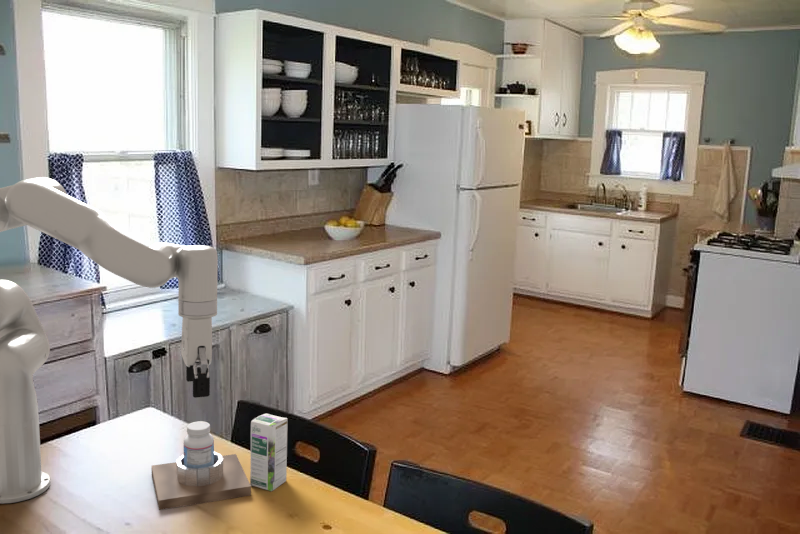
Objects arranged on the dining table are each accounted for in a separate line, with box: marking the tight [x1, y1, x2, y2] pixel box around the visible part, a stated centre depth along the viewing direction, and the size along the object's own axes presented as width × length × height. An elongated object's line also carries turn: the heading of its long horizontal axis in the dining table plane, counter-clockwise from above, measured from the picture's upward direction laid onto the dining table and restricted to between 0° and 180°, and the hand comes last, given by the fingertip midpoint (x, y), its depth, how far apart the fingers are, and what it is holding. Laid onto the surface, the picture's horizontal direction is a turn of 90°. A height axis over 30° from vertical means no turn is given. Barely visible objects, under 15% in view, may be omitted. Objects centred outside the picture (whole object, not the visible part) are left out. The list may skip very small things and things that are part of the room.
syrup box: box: [249, 413, 288, 492], centre depth 153 cm, size 6×6×14 cm
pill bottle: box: [183, 420, 215, 469], centre depth 151 cm, size 6×6×11 cm
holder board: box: [151, 453, 252, 511], centre depth 152 cm, size 18×16×2 cm
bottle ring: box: [175, 451, 223, 486], centre depth 152 cm, size 9×9×4 cm
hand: (197, 388), depth 148 cm, fingers open, 9 cm apart
